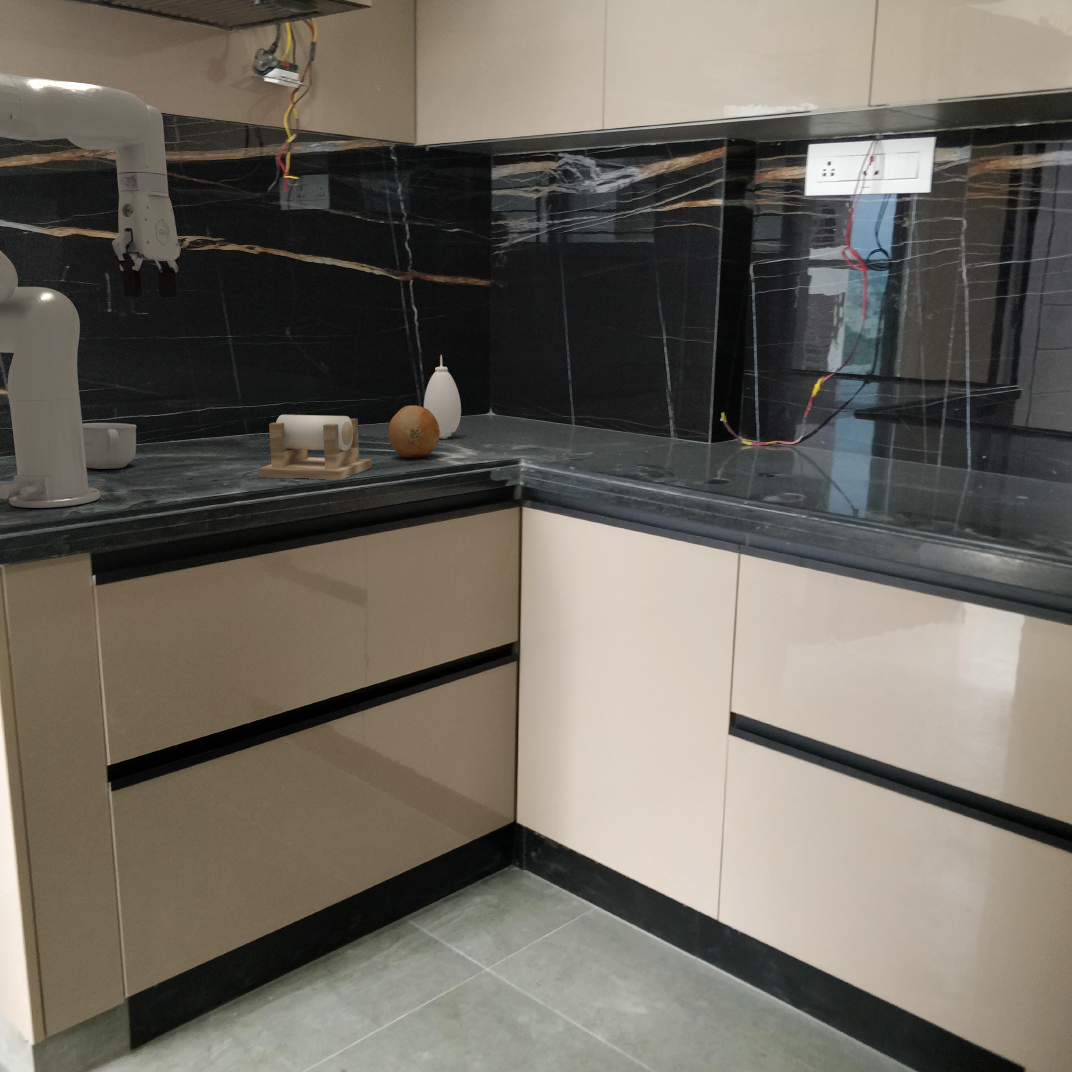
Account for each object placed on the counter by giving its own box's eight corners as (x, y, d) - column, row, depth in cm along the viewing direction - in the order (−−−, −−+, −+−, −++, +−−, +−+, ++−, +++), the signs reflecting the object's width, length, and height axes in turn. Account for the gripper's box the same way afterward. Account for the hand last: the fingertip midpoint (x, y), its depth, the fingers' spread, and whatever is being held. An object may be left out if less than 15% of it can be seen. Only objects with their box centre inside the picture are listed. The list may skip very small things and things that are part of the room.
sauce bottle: (417, 438, 232) (415, 354, 228) (443, 435, 238) (441, 353, 234) (442, 441, 227) (440, 356, 223) (468, 437, 233) (466, 354, 229)
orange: (396, 463, 198) (394, 409, 196) (383, 456, 207) (381, 404, 205) (446, 460, 201) (445, 407, 199) (431, 453, 210) (430, 402, 208)
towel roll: (341, 453, 182) (339, 418, 181) (274, 451, 185) (272, 416, 184) (354, 448, 188) (353, 414, 187) (290, 446, 191) (288, 413, 190)
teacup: (76, 465, 197) (72, 421, 195) (138, 461, 201) (135, 419, 199) (74, 476, 185) (70, 430, 183) (141, 472, 188) (137, 427, 187)
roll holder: (339, 480, 179) (337, 426, 177) (258, 477, 183) (255, 424, 181) (371, 467, 192) (369, 417, 191) (295, 464, 196) (292, 415, 194)
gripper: (131, 181, 162) (141, 296, 166) (193, 191, 178) (200, 296, 182) (88, 182, 164) (99, 296, 167) (153, 193, 180) (161, 296, 184)
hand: (152, 296), depth 175 cm, fingers open, 9 cm apart
